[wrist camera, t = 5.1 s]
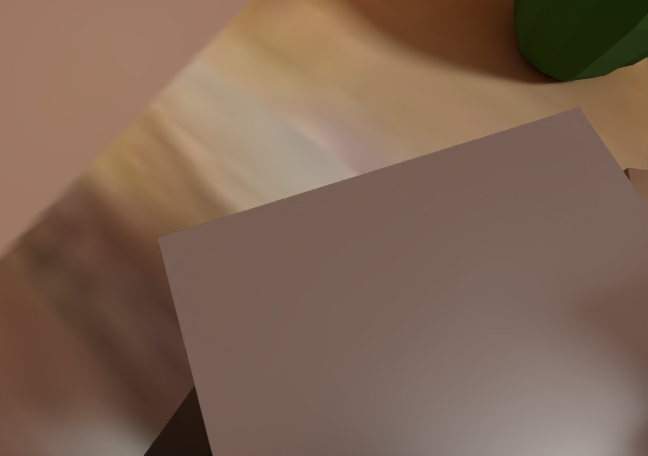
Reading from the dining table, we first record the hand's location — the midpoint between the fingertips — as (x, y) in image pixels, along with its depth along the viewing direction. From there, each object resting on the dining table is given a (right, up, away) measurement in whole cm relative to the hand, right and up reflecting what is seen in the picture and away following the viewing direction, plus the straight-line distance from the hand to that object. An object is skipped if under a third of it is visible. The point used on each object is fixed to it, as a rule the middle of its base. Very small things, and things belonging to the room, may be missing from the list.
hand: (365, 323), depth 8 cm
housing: (0, -4, +6) cm, 7 cm away
